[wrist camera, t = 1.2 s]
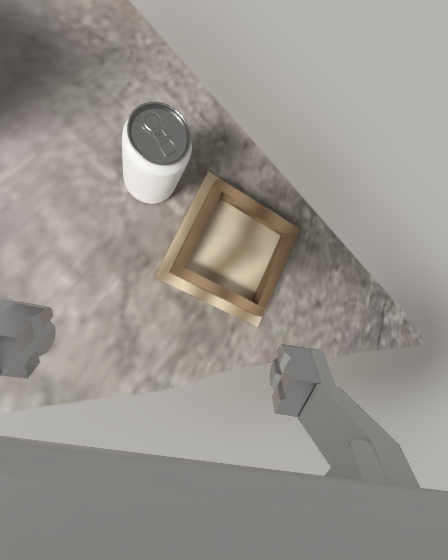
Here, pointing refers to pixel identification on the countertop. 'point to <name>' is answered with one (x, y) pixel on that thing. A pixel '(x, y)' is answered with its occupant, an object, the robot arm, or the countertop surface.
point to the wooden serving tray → (228, 251)
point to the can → (155, 151)
